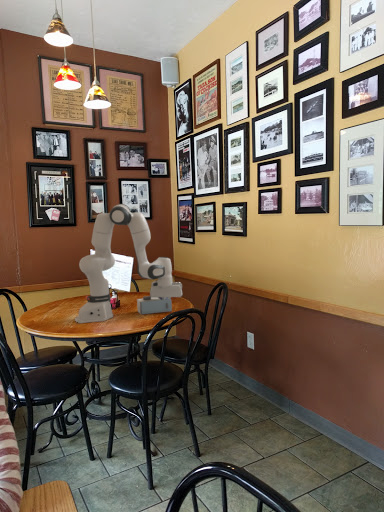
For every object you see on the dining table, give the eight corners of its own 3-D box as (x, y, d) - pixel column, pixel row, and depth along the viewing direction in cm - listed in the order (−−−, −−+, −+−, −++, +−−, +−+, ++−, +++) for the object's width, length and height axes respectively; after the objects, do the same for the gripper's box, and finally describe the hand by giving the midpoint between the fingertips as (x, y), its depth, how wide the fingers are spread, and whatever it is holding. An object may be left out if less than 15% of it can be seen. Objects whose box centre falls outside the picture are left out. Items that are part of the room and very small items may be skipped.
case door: (140, 314, 218) (140, 302, 217) (140, 313, 220) (139, 301, 219) (172, 311, 222) (171, 299, 221) (171, 310, 224) (171, 298, 223)
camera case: (141, 314, 220) (140, 299, 219) (137, 311, 227) (136, 296, 226) (161, 311, 225) (160, 296, 224) (157, 308, 232) (156, 294, 231)
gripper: (182, 280, 225) (183, 302, 227) (150, 281, 227) (152, 303, 229) (181, 282, 219) (182, 304, 220) (148, 283, 221) (150, 305, 222)
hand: (166, 303), depth 225 cm, fingers closed
